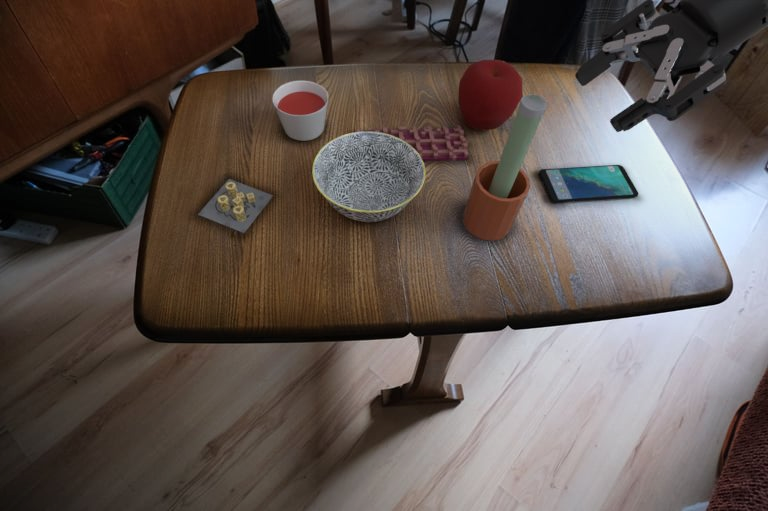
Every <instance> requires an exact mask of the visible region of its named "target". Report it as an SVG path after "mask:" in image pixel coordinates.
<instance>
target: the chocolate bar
mask: <svg viewBox="0 0 768 511" xmlns="http://www.w3.org/2000/svg"><path fill="white" fill-rule="evenodd" d="M361 131H362V130H361V127H356V128H355V132H361ZM367 131H372V132H380V133H385V134H389V135H392V136H394V137H397V138H399V139H401V140H403V141H405V142H406V143H408V144H409V145H410V146H412V147H413V148H414V149H415V150H416V151H417V153H418V154H419V155H420V157H421V158H422V160H423V162H424V163H427V162H454V161H457V162H458V161H468V159H469V156H470V154H469V150H468V148H469V144H468V143H469V142H468V141H467V138H466V137H465V136H464V135H465V130H464V129H462V125H456V127H454V128H449V127H447V125H442V126H441V127H437V128H432V125H427V127H426V128H424V129H423V128H422V129H420V128H419V129H418V128H417V126H412V128H410V129H408V128H407V125H406V126H397V129H389V130H388V128H387V127H386V126H385V127H384V126H383V127H382V130H380V129H375V130H373V127H372V126H368V127H367Z"/></svg>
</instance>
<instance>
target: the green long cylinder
mask: <svg viewBox="0 0 768 511" xmlns="http://www.w3.org/2000/svg"><path fill="white" fill-rule="evenodd" d="M547 107H548V102H547V101H546V99H545V98H544V97H543V96H540V95H537V94H530V93H529V94H525V95H523V97H522V98H521V100H520V102H519V104H518V107H517V108H518V109H517V112H516V115H515V118H514V120H513V123H512V125H511V128H510V132H509V133H508V137H507V139H506V142H505V144H504V147H503V150H502V153H501V156H500V158H499V160H498V161H499V164H498V166H497V169H496V172H495V175H494V177H493V180H492V183H491V185H490V188H489V191H488V192H489V193H490V194H491V195H494V196H496V197H499V198H508V195H509V193H510V191H511V188H512V186H513V183H514V181H515V179H516V176H517V174H518V172H519V169H521V167H522V165H523V163H524V160H525V158H526V155H527V153H528V150H529V148H530V146H531V143H532V141H533V139H534V137H535V134H536V132H537V129H538V127H539V125H540V123H541V120H542V117H543V116H544V115H545V112H546V109H547Z"/></svg>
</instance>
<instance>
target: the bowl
mask: <svg viewBox="0 0 768 511" xmlns="http://www.w3.org/2000/svg"><path fill="white" fill-rule="evenodd" d="M372 131H373V130H372ZM372 131H368V130H361V132H356V131H355V132H354V131H353V132H349V133H346V134H342V135H339V136H338V137H334V138H333V139H332V140H330V141H328V142H327V143H326V144H325V145H323V146H322V147H321V149H320V150H319V151H318V152H317V154H316V156H314V157H315V158H314V160H313V163H312V168H311V176H312V180H313V183H314V185H315V187H316V188H317V190H318V192H319V193H320V194H321V195H322V196H323V197H324V198H325V200H326V201H327V202H328V204H329V205H330V206H331V207H332V208H333V209H334V210H335V211H337V212H338V213H339V214H340V215H342V216H344V217H346V218H348V219H351V220H353V221H357V222H361V223H362V222H363V223H377V222H381V221H385V220H387V219H390V218H392V217H394V216H396V215H397V214H398V213H400V212H402V211H403V210H404V209H405V208H406V207H407V205H408V204H409V203H410V202H411V201H412V200H413V199H414V198H416V196H417V195H418V194H419V193H420V191H421V189H422V188H423V186H424V184H425V181H426V175H427V173H426V172H427V171H426V166H425V162H423V160H422V158H421V157H420V155H419V154H418V153H417V151H416V150H415V149H414V148H413V147H412V146H410V145H409V144H408V143H406V142H405V141H403V140H401V139H399V138H397V137H394V136H392V135H389V134H385V133H380V132H372Z"/></svg>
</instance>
